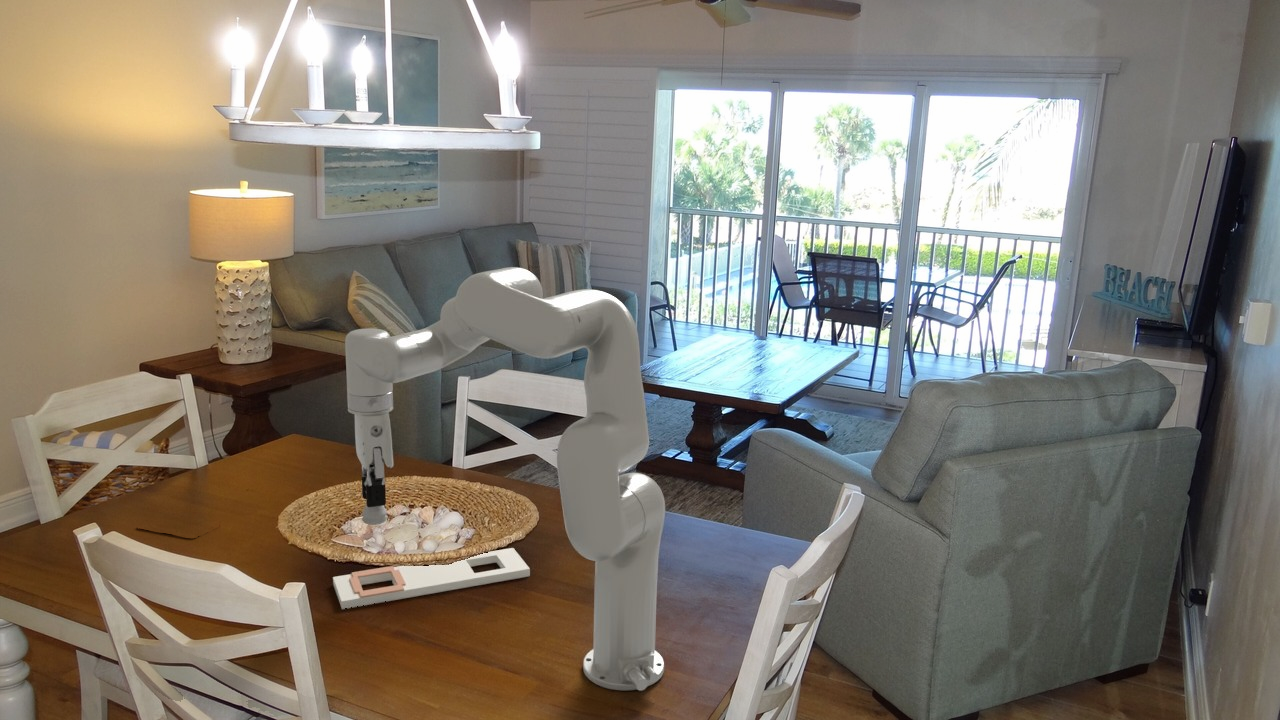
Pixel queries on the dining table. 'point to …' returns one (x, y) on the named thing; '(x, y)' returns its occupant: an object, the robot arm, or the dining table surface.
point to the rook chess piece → (374, 513)
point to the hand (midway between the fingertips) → (374, 500)
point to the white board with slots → (427, 578)
